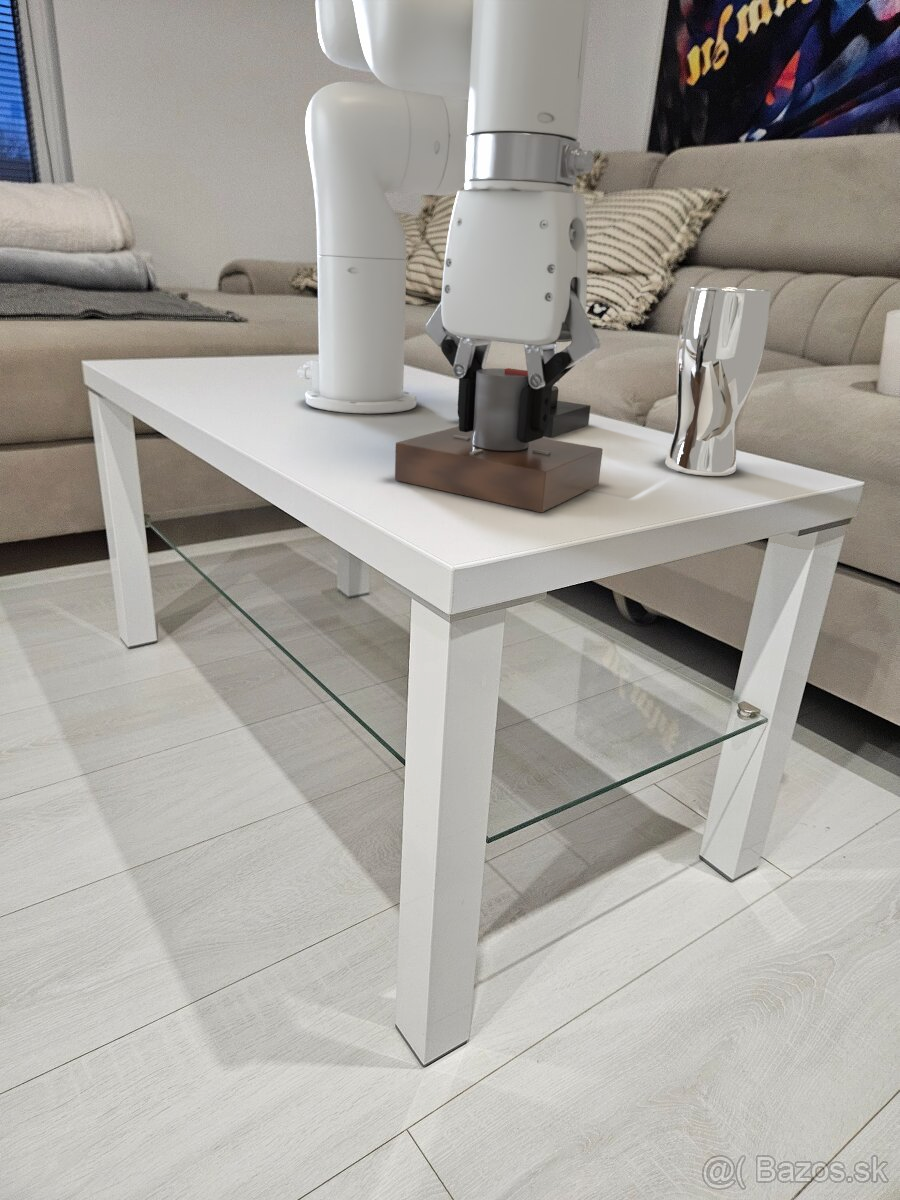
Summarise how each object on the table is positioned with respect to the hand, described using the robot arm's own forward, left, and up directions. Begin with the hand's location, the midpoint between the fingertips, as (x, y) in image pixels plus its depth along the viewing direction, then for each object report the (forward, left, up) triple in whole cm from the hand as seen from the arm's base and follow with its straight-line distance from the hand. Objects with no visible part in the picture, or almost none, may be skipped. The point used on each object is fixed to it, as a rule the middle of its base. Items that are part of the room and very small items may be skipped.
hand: (501, 431), depth 64 cm
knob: (0, 0, -1) cm, 1 cm away
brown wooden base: (0, 0, -4) cm, 4 cm away
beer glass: (+11, +17, -4) cm, 21 cm away
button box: (-10, +23, -4) cm, 25 cm away
